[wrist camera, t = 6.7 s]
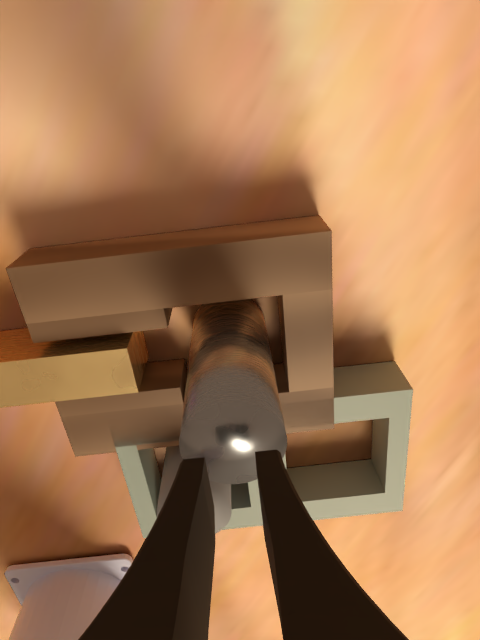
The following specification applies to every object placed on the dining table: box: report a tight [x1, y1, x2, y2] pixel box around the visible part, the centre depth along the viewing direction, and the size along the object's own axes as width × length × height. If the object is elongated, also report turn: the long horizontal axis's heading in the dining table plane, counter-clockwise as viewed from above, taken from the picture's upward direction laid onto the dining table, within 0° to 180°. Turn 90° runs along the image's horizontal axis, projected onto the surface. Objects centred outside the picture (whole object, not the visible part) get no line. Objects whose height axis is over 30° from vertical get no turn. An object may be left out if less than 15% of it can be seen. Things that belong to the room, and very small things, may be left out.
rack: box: [110, 361, 413, 538], centre depth 22 cm, size 8×14×4 cm, turn 96°
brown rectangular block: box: [0, 328, 149, 408], centre depth 20 cm, size 2×7×3 cm, turn 96°
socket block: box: [6, 215, 334, 457], centre depth 20 cm, size 10×12×2 cm
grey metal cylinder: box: [179, 299, 287, 484], centre depth 18 cm, size 3×3×8 cm
